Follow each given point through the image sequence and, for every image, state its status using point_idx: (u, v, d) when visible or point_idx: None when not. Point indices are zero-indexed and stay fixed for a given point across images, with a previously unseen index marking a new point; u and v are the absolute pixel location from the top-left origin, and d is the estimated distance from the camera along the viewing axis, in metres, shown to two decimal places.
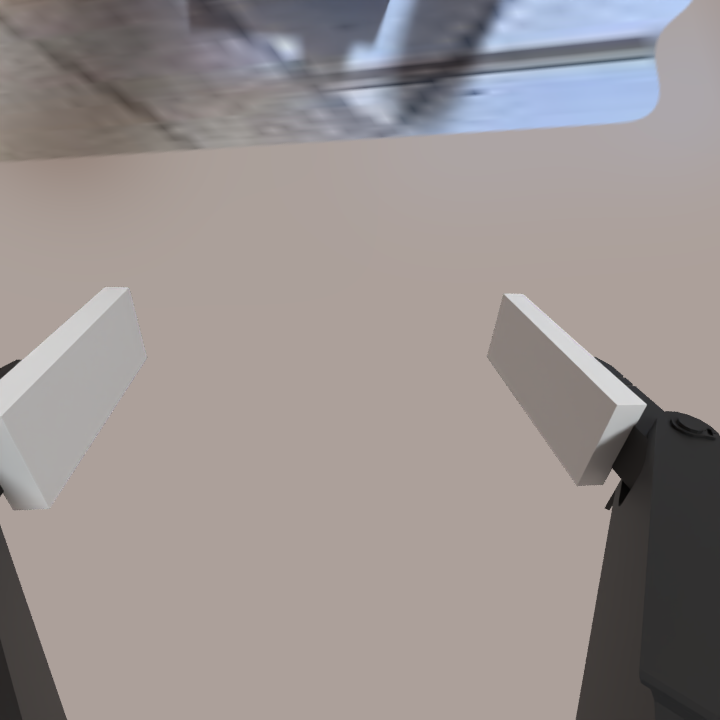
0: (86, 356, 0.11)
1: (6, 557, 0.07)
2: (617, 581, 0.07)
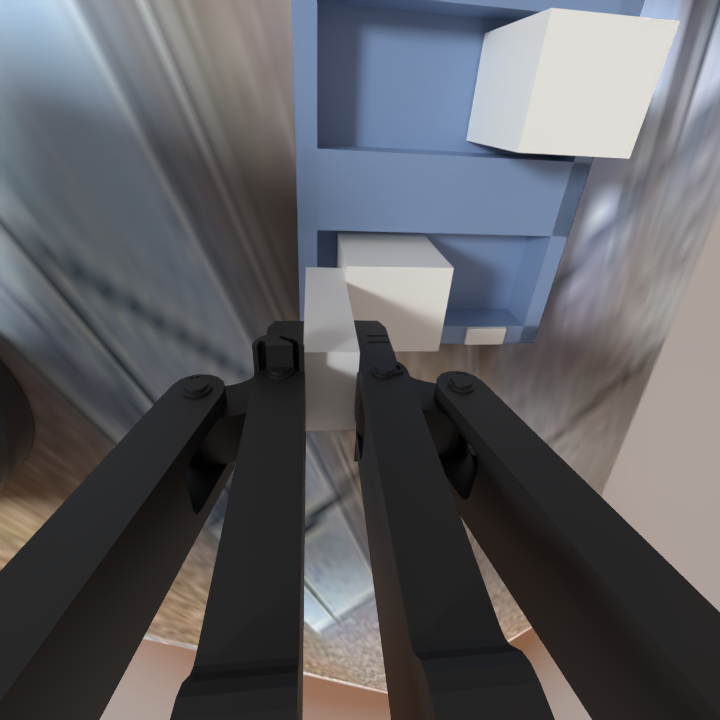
0: None
1: None
2: (377, 538, 0.08)
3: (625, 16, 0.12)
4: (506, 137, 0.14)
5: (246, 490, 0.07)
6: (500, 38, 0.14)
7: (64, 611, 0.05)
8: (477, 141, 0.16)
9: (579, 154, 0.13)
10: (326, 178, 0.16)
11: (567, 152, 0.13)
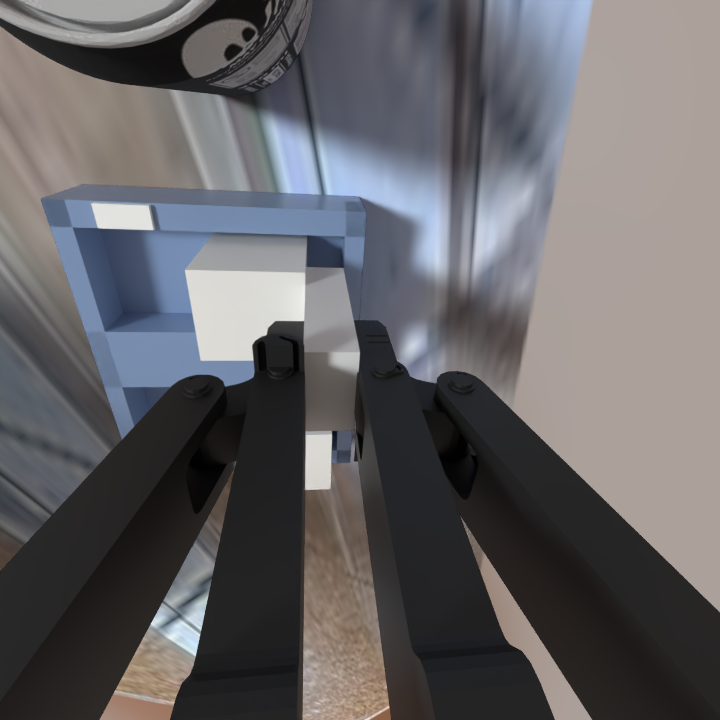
0: None
1: None
2: (377, 538, 0.08)
3: (253, 272, 0.14)
4: None
5: (246, 490, 0.07)
6: None
7: (64, 611, 0.05)
8: None
9: None
10: (119, 351, 0.18)
11: (246, 359, 0.16)
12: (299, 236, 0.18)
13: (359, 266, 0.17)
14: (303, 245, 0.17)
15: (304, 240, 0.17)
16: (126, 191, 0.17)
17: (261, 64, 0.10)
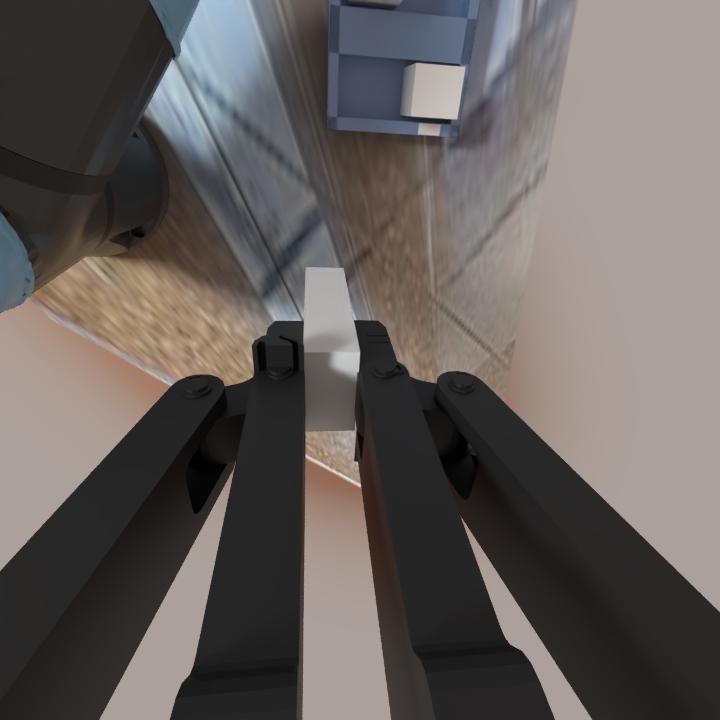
0: None
1: (304, 480, 0.09)
2: (377, 538, 0.08)
3: None
4: None
5: (246, 490, 0.07)
6: None
7: (64, 611, 0.05)
8: None
9: None
10: (344, 22, 0.32)
11: None
12: None
13: None
14: None
15: None
16: None
17: None
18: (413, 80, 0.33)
